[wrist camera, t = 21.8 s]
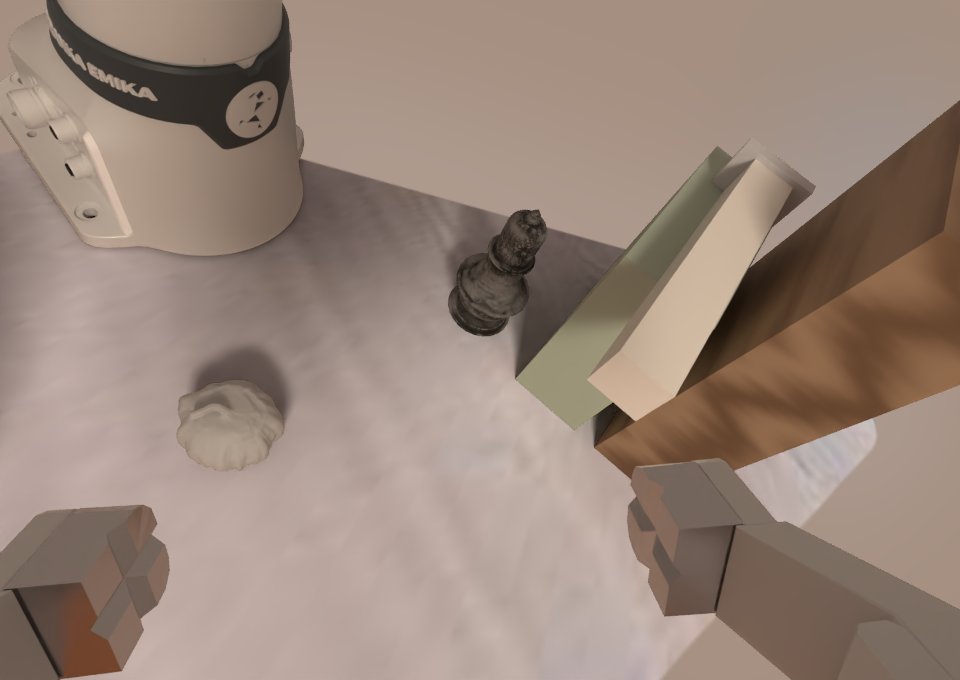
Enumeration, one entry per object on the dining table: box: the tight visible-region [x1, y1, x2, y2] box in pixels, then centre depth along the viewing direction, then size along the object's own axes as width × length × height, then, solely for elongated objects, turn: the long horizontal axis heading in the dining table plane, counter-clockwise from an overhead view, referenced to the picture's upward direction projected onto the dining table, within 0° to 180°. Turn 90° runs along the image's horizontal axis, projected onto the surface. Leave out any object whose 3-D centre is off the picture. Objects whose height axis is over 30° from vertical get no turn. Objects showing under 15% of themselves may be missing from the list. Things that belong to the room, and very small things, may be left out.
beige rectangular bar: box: [587, 137, 816, 421], centre depth 28 cm, size 5×20×3 cm, turn 142°
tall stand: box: [594, 101, 960, 479], centre depth 34 cm, size 6×15×26 cm, turn 142°
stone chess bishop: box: [448, 210, 547, 336], centre depth 39 cm, size 6×6×12 cm
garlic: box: [177, 380, 284, 472], centre depth 31 cm, size 6×5×5 cm
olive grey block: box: [516, 146, 771, 430], centre depth 39 cm, size 6×15×16 cm, turn 142°
